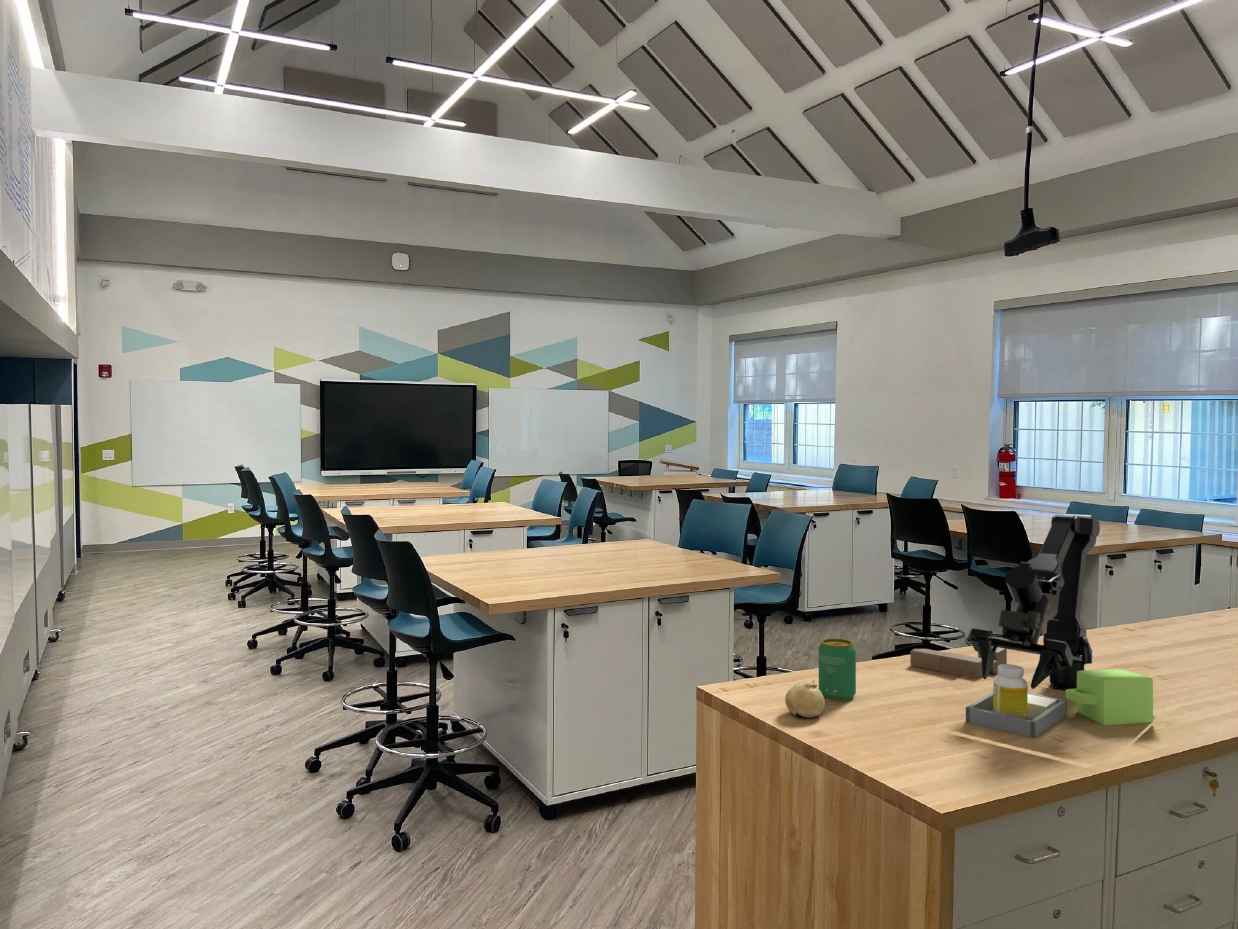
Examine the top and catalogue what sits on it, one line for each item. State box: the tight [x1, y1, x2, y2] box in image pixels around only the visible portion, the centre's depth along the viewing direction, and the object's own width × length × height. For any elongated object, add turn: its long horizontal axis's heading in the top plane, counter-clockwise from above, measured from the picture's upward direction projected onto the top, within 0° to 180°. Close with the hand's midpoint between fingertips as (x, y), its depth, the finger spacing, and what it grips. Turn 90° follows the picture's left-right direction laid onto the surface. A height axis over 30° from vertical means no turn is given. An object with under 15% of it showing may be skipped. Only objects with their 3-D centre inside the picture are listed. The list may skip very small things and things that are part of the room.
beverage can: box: [818, 638, 857, 702], centre depth 189 cm, size 8×8×12 cm
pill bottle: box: [992, 663, 1029, 720], centre depth 170 cm, size 6×6×11 cm
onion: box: [784, 680, 826, 718], centre depth 177 cm, size 8×8×7 cm
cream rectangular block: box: [1027, 694, 1057, 719], centre depth 175 cm, size 6×10×3 cm, turn 45°
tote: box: [965, 691, 1068, 739], centre depth 172 cm, size 18×13×4 cm
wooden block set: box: [909, 647, 1008, 679], centre depth 211 cm, size 17×6×18 cm
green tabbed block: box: [1065, 668, 1154, 726], centre depth 173 cm, size 18×10×10 cm, turn 98°
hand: (1007, 682), depth 169 cm, fingers open, 9 cm apart
